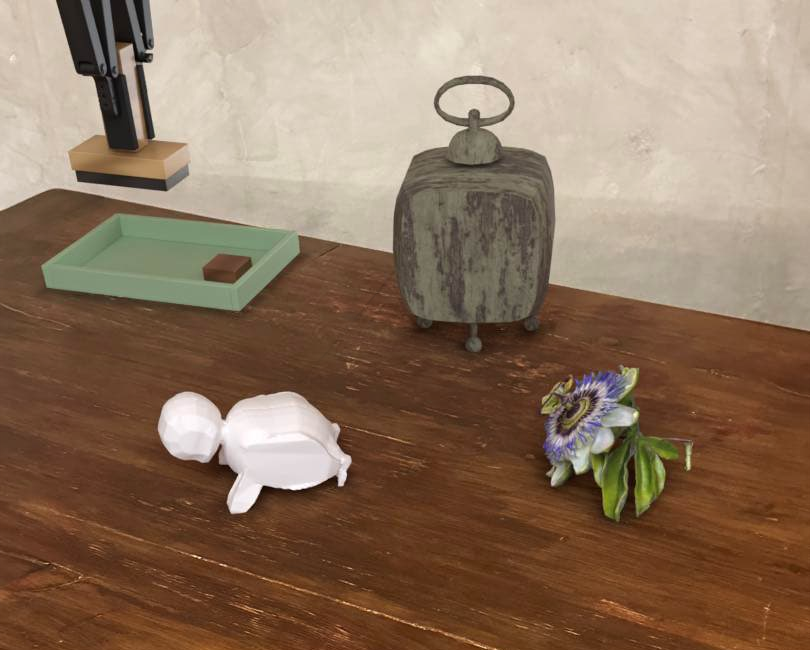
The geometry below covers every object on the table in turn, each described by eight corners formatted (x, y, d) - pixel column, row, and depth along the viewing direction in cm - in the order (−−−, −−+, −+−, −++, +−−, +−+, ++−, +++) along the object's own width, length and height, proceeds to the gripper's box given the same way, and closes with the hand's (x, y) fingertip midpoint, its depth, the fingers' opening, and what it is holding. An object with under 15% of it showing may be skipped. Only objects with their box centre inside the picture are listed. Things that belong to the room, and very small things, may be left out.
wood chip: (204, 280, 123) (201, 267, 122) (220, 265, 126) (218, 253, 125) (236, 284, 122) (235, 271, 121) (252, 269, 125) (251, 256, 124)
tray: (47, 293, 124) (40, 265, 122) (121, 239, 135) (116, 212, 133) (240, 317, 117) (236, 288, 115) (300, 258, 129) (297, 230, 127)
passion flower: (555, 531, 94) (519, 392, 94) (682, 498, 94) (646, 358, 93) (571, 538, 83) (530, 380, 82) (715, 500, 83) (675, 341, 82)
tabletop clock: (551, 324, 113) (561, 62, 98) (547, 367, 106) (557, 92, 91) (408, 320, 115) (397, 63, 100) (395, 363, 108) (380, 93, 93)
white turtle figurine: (316, 474, 98) (143, 446, 93) (344, 389, 94) (165, 355, 88) (334, 530, 92) (149, 504, 86) (365, 442, 87) (173, 408, 82)
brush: (74, 182, 107) (46, 49, 100) (101, 165, 111) (77, 35, 103) (167, 192, 104) (147, 56, 97) (192, 174, 108) (174, 41, 101)
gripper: (64, -138, 84) (126, 173, 98) (163, -163, 96) (205, 119, 110) (-20, -137, 86) (52, 168, 101) (87, -161, 98) (138, 115, 112)
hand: (132, 142), depth 105 cm, fingers closed on brush, 2 cm apart
